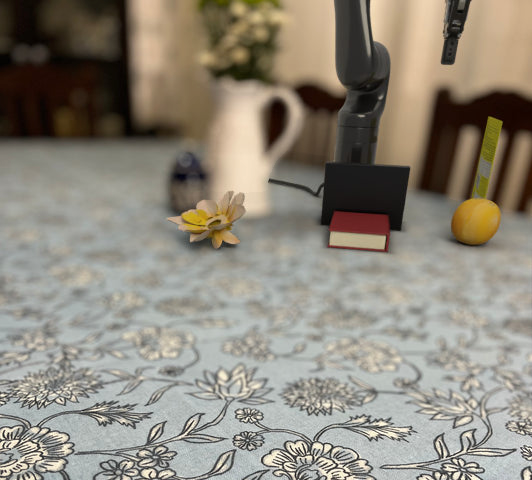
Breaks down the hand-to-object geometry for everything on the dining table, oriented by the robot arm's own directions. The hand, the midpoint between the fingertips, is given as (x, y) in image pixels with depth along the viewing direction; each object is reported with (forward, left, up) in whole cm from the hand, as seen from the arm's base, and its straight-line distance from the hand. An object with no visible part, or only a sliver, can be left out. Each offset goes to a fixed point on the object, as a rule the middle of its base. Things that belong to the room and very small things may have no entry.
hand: (447, 64), depth 89 cm
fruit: (+11, 0, -29) cm, 31 cm away
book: (-4, -14, -29) cm, 33 cm away
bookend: (-11, -5, -29) cm, 31 cm away
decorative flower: (-21, -37, -29) cm, 52 cm away
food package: (+2, +19, -29) cm, 35 cm away
